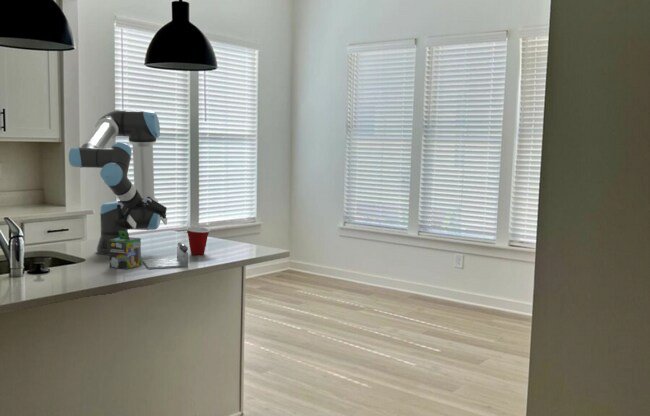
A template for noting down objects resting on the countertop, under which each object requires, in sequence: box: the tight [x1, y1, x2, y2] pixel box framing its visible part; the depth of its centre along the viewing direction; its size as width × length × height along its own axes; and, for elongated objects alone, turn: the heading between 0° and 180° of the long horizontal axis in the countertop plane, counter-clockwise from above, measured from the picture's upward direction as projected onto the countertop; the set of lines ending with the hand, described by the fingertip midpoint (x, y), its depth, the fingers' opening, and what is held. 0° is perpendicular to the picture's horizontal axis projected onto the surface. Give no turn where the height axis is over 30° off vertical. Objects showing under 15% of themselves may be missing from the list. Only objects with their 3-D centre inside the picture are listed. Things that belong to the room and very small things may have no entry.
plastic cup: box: [185, 226, 211, 256], centre depth 280 cm, size 11×11×12 cm
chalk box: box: [108, 231, 142, 270], centre depth 249 cm, size 9×9×15 cm
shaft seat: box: [142, 241, 189, 270], centre depth 256 cm, size 16×16×8 cm
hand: (150, 224), depth 253 cm, fingers open, 13 cm apart
